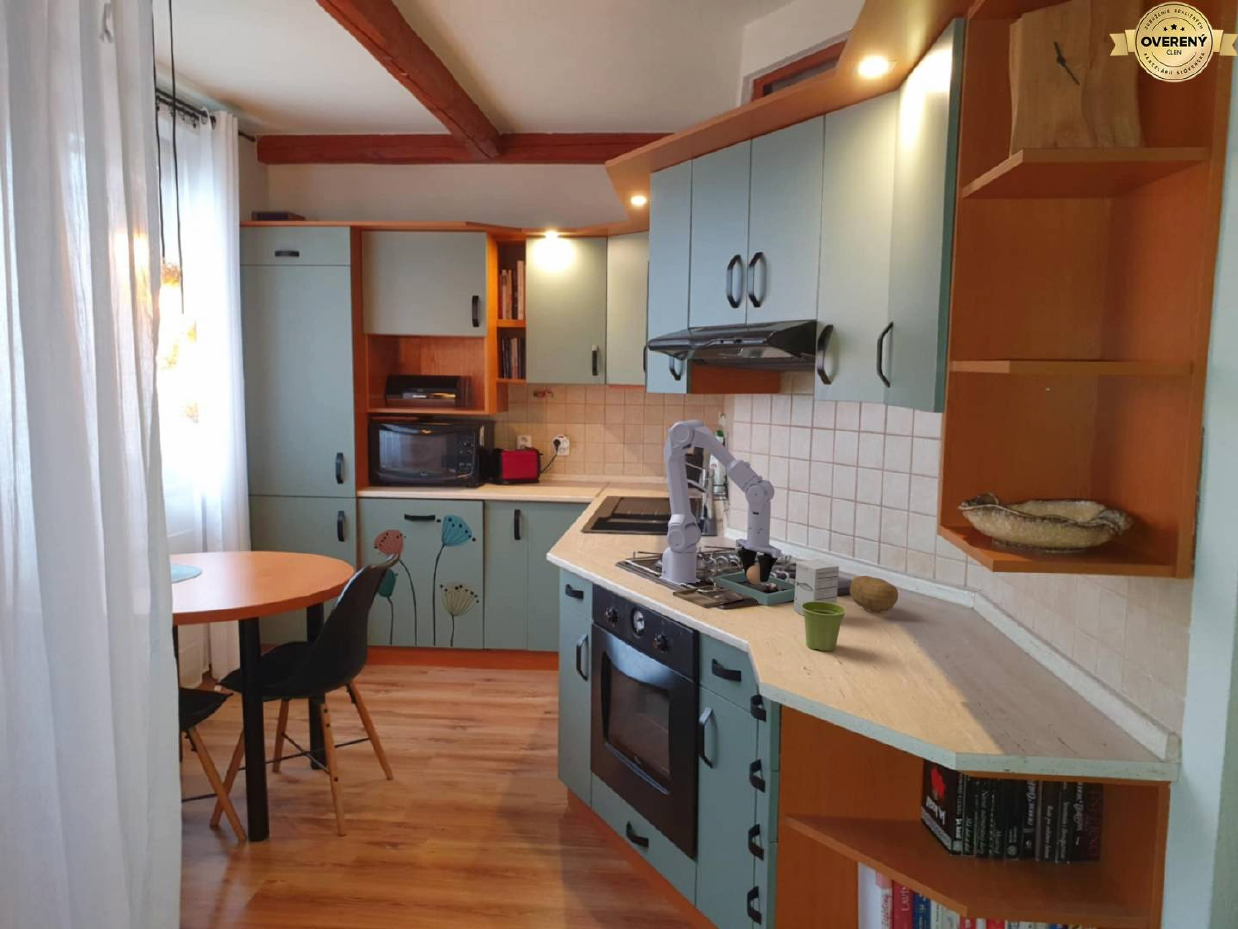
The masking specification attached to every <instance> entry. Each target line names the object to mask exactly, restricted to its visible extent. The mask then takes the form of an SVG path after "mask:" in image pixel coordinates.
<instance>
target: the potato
mask: <svg viewBox="0 0 1238 929" xmlns="http://www.w3.org/2000/svg"><path fill="white" fill-rule="evenodd" d="M849 594H850V596H851V598H852V600H853V602H854V603H855V604H856V605H857V606H859V607H861V608H864V609H866V610H868V611H870V612H875V613H883V612H886V611H889V610H891V609H893V607H894V606H895V604H896V603H897V602H898V599H899V592H898V589H897V588H896V586H895V585H894V584H892V583H891V582H888V581H887V580H885V579H882V578H879V577H873V576H869V575H860V576H855V577H854V578H853V579H852V580H851V582H850V585H849Z"/></svg>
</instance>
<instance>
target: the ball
mask: <svg viewBox="0 0 1238 929" xmlns="http://www.w3.org/2000/svg"><path fill="white" fill-rule="evenodd" d="M747 579H748V580H749V581H748V582H749V583H751V584H752V585H758V584H761V583H762V582H761V581H760V566H759V564H754V565H753V566H751V567H750V568H749V569H748V570H747Z"/></svg>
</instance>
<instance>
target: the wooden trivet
mask: <svg viewBox="0 0 1238 929" xmlns="http://www.w3.org/2000/svg"><path fill="white" fill-rule="evenodd" d="M709 587H712V588H715V587H713V585H711V584H708V585H703V586H698V587H692V588H686V589H682V590H677V591H673V592H672V596H674V597H676V598H679V599H682V600H684V601H686V602H688V603H691V604H693V605H696V606H699V607H701V608H704V609H708V608H713V607H718V606H721V605H720V603H722V602H723V601H727V600H720V601H715V602H712V601H711V600H709V599H707V598H705V597H703V596H701V595H699V594H698V593H695V591H696V590H698V589H706V588H709ZM715 589H720V588H717V587H716V588H715ZM724 591H725V590H724ZM729 593H730V594H732V595H736V594H734V593H731V592H729Z"/></svg>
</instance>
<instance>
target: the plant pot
mask: <svg viewBox="0 0 1238 929" xmlns="http://www.w3.org/2000/svg"><path fill="white" fill-rule="evenodd" d="M801 608H802V610H803V615H802V616H804V629H805V630H804V631H805V643H806V646H807V647H808V648H810V649H811V650H819V651H821V652H829V651H833V650H834V649H836V647H837V644H838V643H837V642H838V637H839V634H840V629H841V624H842V620H843V619H844V615H845V614H846V613H847V608H846V607H845V606H842V605H841V604H835V603H830V602H823V601H809V602H805V603H803V604H801Z"/></svg>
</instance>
